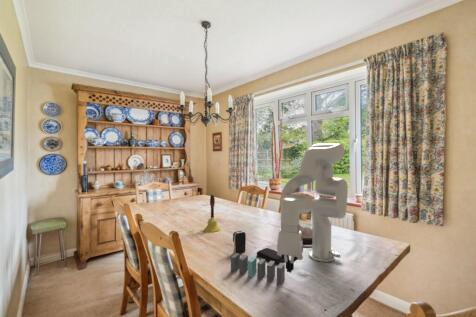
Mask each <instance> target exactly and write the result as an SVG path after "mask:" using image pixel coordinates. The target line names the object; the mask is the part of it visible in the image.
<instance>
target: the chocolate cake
mask: <svg viewBox="0 0 476 317" xmlns="http://www.w3.org/2000/svg"><path fill="white" fill-rule="evenodd" d="M302 227H303V230H299V231H301V233H302V240H303V248H312V228H310V227H307V226H306V227H305V226H302Z"/></svg>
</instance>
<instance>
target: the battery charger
mask: <svg viewBox="0 0 476 317" xmlns="http://www.w3.org/2000/svg"><path fill="white" fill-rule="evenodd" d="M246 237H247V234H246V232H245V231H243V230H238V231H234V232H233V234H232V242H233V247H234V248H233V254H235V253H239V254H241V253H244V252H246V243H247V242H246V241H247V238H246Z"/></svg>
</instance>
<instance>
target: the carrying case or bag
mask: <svg viewBox="0 0 476 317" xmlns="http://www.w3.org/2000/svg"><path fill="white" fill-rule="evenodd" d="M277 252H278V251H277V250H275V249H272V248H269V247H265V248H262V249H260V250H258V251H257V252H256V256H257V257H258V258H260V259H266V262H268V263H269V262H270V261H275V265H279V264H280V263H284V262H285V260H284V259H283V258H282V256H279V255H277Z"/></svg>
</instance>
